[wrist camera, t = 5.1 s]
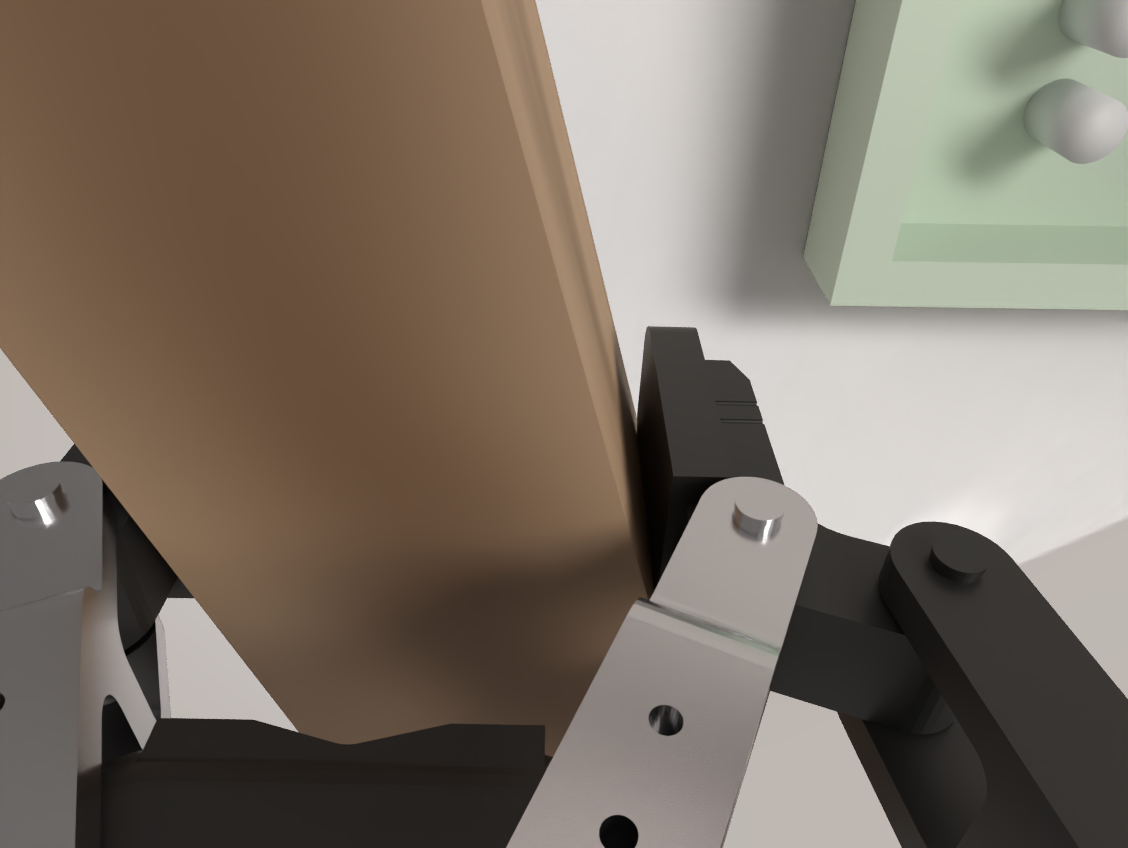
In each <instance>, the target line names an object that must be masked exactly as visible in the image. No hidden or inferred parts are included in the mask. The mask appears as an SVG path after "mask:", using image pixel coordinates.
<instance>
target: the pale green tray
mask: <svg viewBox="0 0 1128 848" xmlns="http://www.w3.org/2000/svg"><path fill="white" fill-rule="evenodd" d="M803 259H804V261H805V262H806V264H807V266H808V268H809V269H810V271H811V273H812V275H813V276H814V278H815V280H816V282H817V283H818V285H819V287H820V289H821V290H822V292H823V294H824V296H825V297H826V299H827V301H828V303H829V304H830V306H887V307H952V308H1018V309H1083V310H1128V0H856V2H855V7H854V12H853V17H852V21H851V26H850V31H849V36H848V41H847V46H846V51H845V55H844V60H843V65H842V70H841V75H840V80H839V85H838V90H837V94H836V99H835V104H834V109H833V114H832V119H831V124H830V128H829V133H828V138H827V143H826V148H825V153H824V158H823V163H822V167H821V172H820V177H819V182H818V187H817V192H816V197H815V201H814V206H813V211H812V216H811V221H810V226H809V231H808V236H807V240H806V245H805V250H804V255H803Z"/></svg>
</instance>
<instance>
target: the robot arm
mask: <svg viewBox="0 0 1128 848" xmlns="http://www.w3.org/2000/svg"><path fill="white" fill-rule="evenodd" d="M762 421H763V419H762V416H761V413H760V410H759V407H758V406H757V401H756V398H755V395H754V392H753V389H752V386H751V383H750V380H749V379H748V378H747V377H746V376H745V375H744V374H743V373H742V372H741V371H740V370H739V369H738V368H737V367H736V366H735V365H734V364H732V363H731V362H730V361H723V360H705V359H704V355H703V351H702V348H701V344H700V340H699V336H698V332H697V329H696V328H690V327H650V326H648V327H647V329H646V334H645V341H644V351H643V362H642V372H641V382H640V392H639V402H638V413H637V441H638V450H639V459H640V467H641V476H642V485H643V494H644V503H645V511H646V520H647V529H648V538H649V547H650V556H651V564H652V573H653V582H654V593H653V595H652V597H651V598H650V600H647V599H644V598H642V597H641V598H639V599H637V600H636V602H635V603H634V604H633V606H632V607H631V609H630V611H629V612H628V614H627V616H626V618H625V620H624V622H623V624H622V626H621V628H620V630H619V631H618V633H617V635H616V637H615V639H614V641H613V643H612V645H611V647H610V649H609V651H608V653H607V655H606V656H605V658H604V660H603V662H602V664H601V666H600V668H599V670H598V672H597V674H596V676H595V678H594V680H593V681H592V683H591V685H590V687H589V689H588V691H587V693H586V695H585V697H584V699H583V701H582V703H581V705H580V706H579V708H578V710H577V712H576V714H575V716H574V718H573V720H572V722H571V724H570V726H569V728H568V730H567V731H566V733H565V735H564V737H563V739H562V741H561V743H560V745H559V747H558V749H557V751H556V753H555V755H554V756H553V757H551V756H548V755H545V725H503V724H446V725H441V726H437V727H432V728H427V729H423V730H418V731H413V732H409V733H404V734H399V735H395V736H390V737H385V738H381V739H376V740H371V741H367V742H362V743H357V744H339V743H334V742H331V741H327V740H324V739H320V738H316V737H313V736H309V735H306V734H302V733H299V732H295V731H291V730H288V729H284V728H281V727H277V726H273V725H270V724H266V723H263V722H259V721H256V720H236V719H183V718H182V719H181V718H179V719H178V718H171V710H170V696H169V683H168V669H167V656H166V643H165V632H164V627H163V625H162V623H161V620H160V617H159V615H158V614H159V612H160V610H161V608H162V606H163V605H164V603H165V601H166V599H167V598H194V597H193V595H192V594H191V593H190V591H189V590H188V589H187V588H186V586H185V585H184V584H183V582H182V581H181V580H180V579H179V577H178V576H177V575H176V573H175V572H174V571H173V570H172V568H171V567H170V566H169V564H168V563H167V562H166V561H165V559H164V558H163V557H162V555H161V554H160V553H159V552H158V550H157V549H156V548H155V546H154V545H153V544H152V543H151V541H150V540H149V539H148V537H147V536H146V535H145V534H144V532H143V531H142V530H141V528H140V527H139V526H138V525H137V523H136V522H135V521H134V519H133V518H132V517H131V516H130V514H129V513H128V512H127V510H126V509H125V508H124V507H123V505H122V504H121V503H120V501H119V500H118V499H117V498H116V496H115V495H114V494H113V492H112V491H111V490H110V489H109V487H108V486H107V485H106V483H105V482H104V481H103V480H102V478H101V477H100V476H99V474H98V473H97V472H96V471H95V469H94V468H93V467H92V465H91V464H90V463H89V462H88V460H87V459H86V458H85V456H84V455H83V454H82V453H81V451H80V450H79V449H78V447H77V446H76V445H75V444H74V445H73V446H72V447H71V449H70V450H69V451H68V452H67V454H66V455H65V456H64V457H63V459H62V460H61V461H60V462H50V463H44V464H39V465H36V466H32V467H28V468H25V469H22V470H19V471H17V472H15V473H12V474H10V475H8V476H6V477H4V478H2V479H1V480H0V848H723V845H724V842H725V838H726V835H727V831H728V828H729V825H730V822H731V818H732V815H733V812H734V808H735V805H736V802H737V798H738V795H739V792H740V788H741V785H742V782H743V779H744V775H745V772H746V768H747V765H748V762H749V759H750V756H751V752H752V749H753V746H754V742H755V739H756V736H757V732H758V729H759V725H760V722H761V719H762V716H763V713H764V709H765V706H766V703H767V699H768V696H769V693H770V691H773V692H776V693H779V694H783V695H786V696H789V697H792V698H795V699H799V700H802V701H805V702H808V703H812V704H815V705H818V706H821V707H825V708H828V709H831V710H834V711H837V712H838V715H839V718H840V720H841V722H842V724H843V726H844V728H845V730H846V732H847V734H848V737H849V738H850V741H851V743H852V745H853V747H854V749H855V751H856V753H857V755H858V757H859V759H860V761H861V764H862V765H863V767H864V770H865V772H866V774H867V776H868V778H869V780H870V782H871V784H872V786H873V788H874V790H875V792H876V795H877V797H878V799H879V801H880V803H881V805H882V807H883V809H884V811H885V813H886V815H887V818H888V820H889V822H890V824H891V826H892V828H893V830H894V832H895V834H896V836H897V838H898V840H899V842H900V845H901V846H902V848H1128V699H1127V698H1126V697H1125V695H1124V694H1123V693H1122V692H1121V690H1120V689H1119V688H1118V687H1117V686H1116V685H1115V683H1114V682H1113V681H1112V680H1111V678H1110V677H1109V676H1108V675H1107V673H1106V672H1105V671H1104V670H1103V669H1102V667H1101V666H1100V665H1099V664H1098V662H1097V661H1096V660H1095V659H1094V658H1093V656H1092V655H1091V654H1090V653H1089V652H1088V650H1087V649H1086V648H1085V647H1084V646H1083V644H1082V643H1081V642H1080V641H1079V639H1078V638H1077V637H1076V636H1075V635H1074V633H1073V632H1072V631H1071V630H1070V628H1069V627H1068V626H1067V625H1066V624H1065V622H1064V621H1063V620H1062V619H1061V617H1060V616H1059V615H1058V614H1057V613H1056V611H1055V610H1054V609H1053V608H1052V607H1051V605H1050V604H1049V603H1048V602H1047V600H1046V599H1045V598H1044V597H1043V596H1042V594H1041V593H1040V592H1039V591H1038V590H1037V588H1036V587H1035V586H1034V585H1033V583H1032V582H1031V581H1030V580H1029V579H1028V577H1027V576H1026V575H1025V574H1024V572H1023V571H1022V570H1021V569H1020V568H1019V566H1018V565H1017V564H1016V563H1015V562H1014V560H1013V559H1012V558H1011V557H1010V556H1009V555H1008V554H1007V553H1006V552H1005V551H1004V550H1003V549H1002V548H1001V547H999V546H998V545H997V544H996V543H994V542H992V541H991V540H989V539H988V538H986V537H984V536H982V535H981V534H979V533H977V532H974V531H972V530H969V529H967V528H964V527H961V526H958V525H954V524H949V523H943V522H920V523H915V524H912V525H909V526H906V527H905V528H903V529H901V530H900V531H899V532H898V533H897V534H896V535H895V536H894V538H893V540H892V542H891V545H890V546H886V545H882V544H878V543H874V542H870V541H866V540H862V539H858V538H854V537H850V536H847V535H843V534H840V533H837V532H835V531H832V530H830V529H827V528H825V527H823V526H822V525H820V524H818V523H817V518H816V515H815V512H814V511H813V509H812V507H811V506H810V505H809V503H808V502H807V501H806V500H805V499H804V498H803V497H802V496H800V495H799V494H798V493H796V492H795V491H793V490H792V489H790V488H788V487H786V486H784V482H783V479H782V476H781V473H780V470H779V467H778V464H777V461H776V458H775V455H774V452H773V449H772V446H771V443H770V440H769V437H768V434H767V431H766V428H765V425H764V424H763V423H762Z"/></svg>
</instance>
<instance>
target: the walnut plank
mask: <svg viewBox="0 0 1128 848" xmlns="http://www.w3.org/2000/svg"><path fill="white" fill-rule="evenodd" d="M0 348H1V349H2V351H3V352H4V353H5V355H6V356H7V357H8V359H9V360H10V361H11V362H12V364H13V365H14V366H15V368H16V369H17V370H18V371H19V373H20V374H21V375H22V377H23V378H24V379H25V380H26V382H27V383H28V384H29V386H30V387H31V388H32V389H33V391H34V392H35V393H36V395H37V396H38V397H39V398H40V399H41V401H42V402H43V404H44V405H45V406H46V407H47V409H48V410H49V411H50V413H51V414H52V415H53V417H54V418H55V419H56V420H57V422H58V423H59V424H60V426H61V427H62V428H63V429H64V431H65V432H66V433H67V435H68V436H69V437H70V438H71V440H72V441H73V442H74V444H75V445H76V446H77V447H78V449H79V450H80V451H81V453H82V454H83V455H84V456H85V458H86V459H87V460H88V462H89V463H90V464H91V465H92V467H93V468H94V469H95V471H96V472H97V473H98V474H99V476H100V477H101V478H102V480H103V481H104V482H105V483H106V485H107V486H108V487H109V489H110V490H111V491H112V492H113V494H114V495H115V496H116V498H117V499H118V500H119V501H120V503H121V504H122V505H123V507H124V508H125V509H126V510H127V512H128V513H129V514H130V516H131V517H132V518H133V519H134V521H135V522H136V523H137V525H138V526H139V527H140V528H141V530H142V531H143V532H144V534H145V535H146V536H147V537H148V539H149V540H150V541H151V543H152V544H153V545H154V546H155V548H156V549H157V550H158V552H159V553H160V554H161V555H162V557H163V558H164V559H165V561H166V562H167V563H168V564H169V566H170V567H171V568H172V570H173V571H174V572H175V573H176V575H177V576H178V577H179V579H180V580H181V581H182V582H183V584H184V585H185V586H186V588H187V589H188V590H189V591H190V593H191V594H192V595H193V597H194V598H195V599H196V600H197V602H198V603H199V604H200V606H201V607H202V608H203V609H204V611H205V612H206V613H207V614H208V616H209V617H210V618H211V620H212V621H213V622H214V624H215V625H216V626H217V627H218V629H219V630H220V631H221V633H222V634H223V635H224V636H225V638H226V639H227V640H228V642H229V643H230V644H231V645H232V647H233V648H234V649H235V651H236V652H237V653H238V654H239V656H240V657H241V658H242V659H243V661H244V662H245V663H246V665H247V666H248V667H249V669H250V670H251V671H252V672H253V674H254V675H255V676H256V677H257V679H258V680H259V681H260V683H261V684H262V685H263V687H264V688H265V689H266V690H267V692H268V693H269V694H270V696H271V697H272V698H273V699H274V701H275V702H276V703H277V704H278V706H279V707H280V709H281V710H282V711H283V712H284V714H285V715H286V716H287V718H288V719H289V720H290V721H291V722H292V724H293V725H294V726H295V728H296V729H297V730H298V732H299V733H302V734H306V735H309V736H313V737H316V738H320V739H324V740H327V741H331V742H334V743H339V744H357V743H362V742H367V741H371V740H376V739H381V738H385V737H390V736H395V735H399V734H404V733H409V732H413V731H418V730H423V729H427V728H432V727H437V726H441V725H446V724H503V725H545V755H548V756H551V757H553V756H554V755H555V753H556V751H557V749H558V747H559V745H560V743H561V741H562V739H563V737H564V735H565V733H566V731H567V730H568V728H569V726H570V724H571V722H572V720H573V718H574V716H575V714H576V712H577V710H578V708H579V706H580V705H581V703H582V701H583V699H584V697H585V695H586V693H587V691H588V689H589V687H590V685H591V683H592V681H593V680H594V678H595V676H596V674H597V672H598V670H599V668H600V666H601V664H602V662H603V660H604V658H605V656H606V655H607V653H608V651H609V649H610V647H611V645H612V643H613V641H614V639H615V637H616V635H617V633H618V631H619V630H620V628H621V626H622V624H623V622H624V620H625V618H626V616H627V614H628V612H629V611H630V609H631V607H632V606H633V604H634V603H635V602H636V600H637V599H639V598H641V597H642V598H644V599H647V600H650V598H651V597H652V595H653V593H654V582H653V573H652V564H651V556H650V547H649V538H648V529H647V520H646V511H645V503H644V494H643V485H642V476H641V467H640V459H639V450H638V441H637V417H636V413H635V409H634V405H633V401H632V397H631V393H630V388H629V384H628V380H627V376H626V372H625V368H624V364H623V360H622V356H621V351H620V347H619V343H618V339H617V335H616V331H615V327H614V323H613V318H612V314H611V310H610V306H609V302H608V298H607V294H606V290H605V286H604V281H603V277H602V273H601V269H600V265H599V261H598V257H597V253H596V249H595V244H594V240H593V236H592V232H591V228H590V224H589V220H588V216H587V211H586V207H585V203H584V199H583V195H582V191H581V187H580V183H579V179H578V174H577V170H576V166H575V162H574V158H573V154H572V150H571V146H570V142H569V137H568V133H567V129H566V125H565V121H564V117H563V113H562V109H561V105H560V100H559V96H558V92H557V88H556V84H555V80H554V76H553V72H552V67H551V63H550V59H549V55H548V51H547V47H546V43H545V39H544V35H543V30H542V26H541V22H540V18H539V14H538V10H537V6H536V2H535V0H0Z"/></svg>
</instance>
